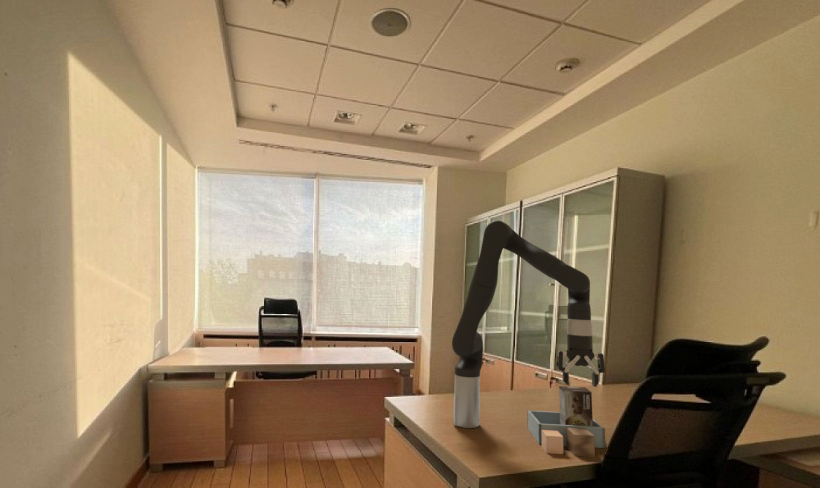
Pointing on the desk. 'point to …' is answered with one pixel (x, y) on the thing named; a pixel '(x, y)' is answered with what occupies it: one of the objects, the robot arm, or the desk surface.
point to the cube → (552, 441)
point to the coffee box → (575, 406)
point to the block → (580, 442)
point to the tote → (560, 427)
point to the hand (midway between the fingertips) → (580, 385)
